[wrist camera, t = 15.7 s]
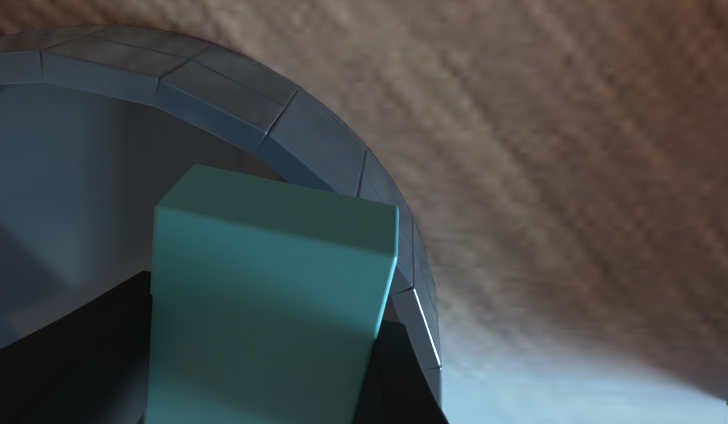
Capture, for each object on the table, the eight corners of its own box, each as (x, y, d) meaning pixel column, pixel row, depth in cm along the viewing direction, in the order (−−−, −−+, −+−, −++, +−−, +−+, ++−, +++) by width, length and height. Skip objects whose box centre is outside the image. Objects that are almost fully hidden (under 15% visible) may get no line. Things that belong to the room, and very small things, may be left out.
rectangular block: (343, 432, 14) (333, 506, 12) (174, 398, 14) (139, 468, 12) (400, 204, 11) (398, 256, 9) (193, 161, 11) (152, 205, 9)
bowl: (369, 542, 25) (362, 660, 21) (-87, 451, 25) (-185, 554, 21) (510, 106, 17) (543, 162, 13) (-174, -47, 16) (-367, -40, 12)
